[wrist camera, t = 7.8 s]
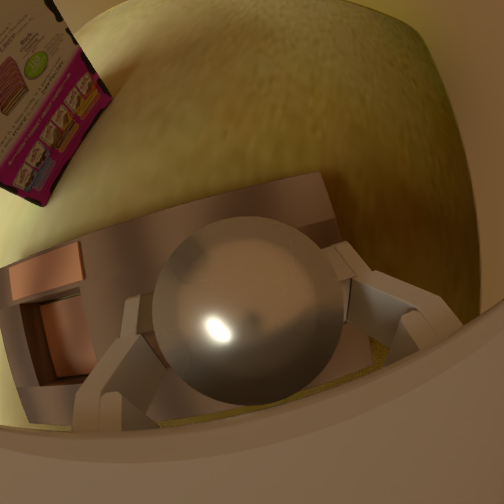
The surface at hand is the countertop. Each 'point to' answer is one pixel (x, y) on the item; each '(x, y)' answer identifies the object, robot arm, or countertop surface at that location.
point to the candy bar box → (42, 97)
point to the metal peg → (248, 310)
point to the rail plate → (137, 283)
